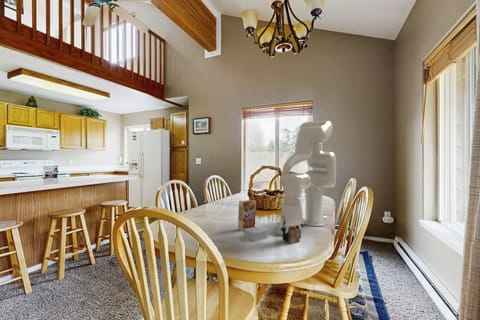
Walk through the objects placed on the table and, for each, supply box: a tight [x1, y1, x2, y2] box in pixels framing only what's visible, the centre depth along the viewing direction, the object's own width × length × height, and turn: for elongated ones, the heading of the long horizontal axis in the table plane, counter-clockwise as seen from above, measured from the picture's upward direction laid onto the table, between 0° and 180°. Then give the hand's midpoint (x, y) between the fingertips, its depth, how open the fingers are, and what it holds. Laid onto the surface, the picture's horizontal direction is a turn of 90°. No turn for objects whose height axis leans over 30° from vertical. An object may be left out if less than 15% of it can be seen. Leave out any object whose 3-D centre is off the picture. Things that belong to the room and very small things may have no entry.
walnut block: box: [285, 226, 301, 245], centre depth 107 cm, size 5×5×6 cm
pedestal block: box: [243, 226, 269, 243], centre depth 112 cm, size 8×8×4 cm
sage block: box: [276, 220, 286, 236], centre depth 118 cm, size 5×5×6 cm
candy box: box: [237, 199, 257, 232], centre depth 124 cm, size 9×4×15 cm, turn 123°
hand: (291, 239), depth 107 cm, fingers open, 6 cm apart
